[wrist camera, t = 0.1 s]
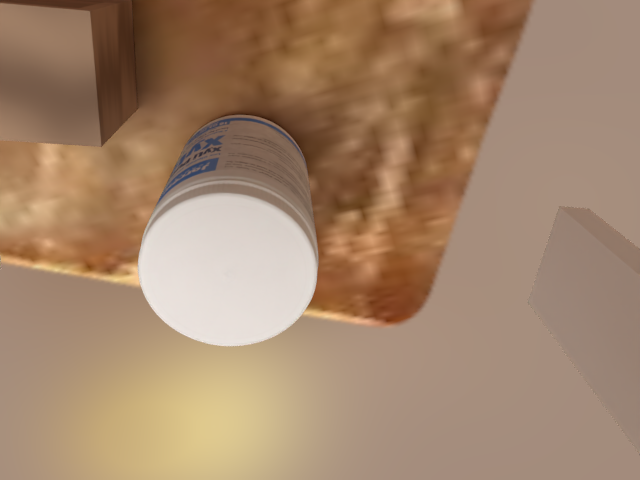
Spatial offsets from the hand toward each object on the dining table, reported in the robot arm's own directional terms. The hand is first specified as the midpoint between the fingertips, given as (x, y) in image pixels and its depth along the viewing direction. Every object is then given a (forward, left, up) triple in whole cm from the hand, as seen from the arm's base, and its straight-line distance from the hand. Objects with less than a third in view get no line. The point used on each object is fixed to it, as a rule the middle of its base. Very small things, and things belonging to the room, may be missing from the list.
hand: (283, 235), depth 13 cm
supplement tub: (+9, -2, -28) cm, 30 cm away
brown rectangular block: (+1, -13, -28) cm, 31 cm away
